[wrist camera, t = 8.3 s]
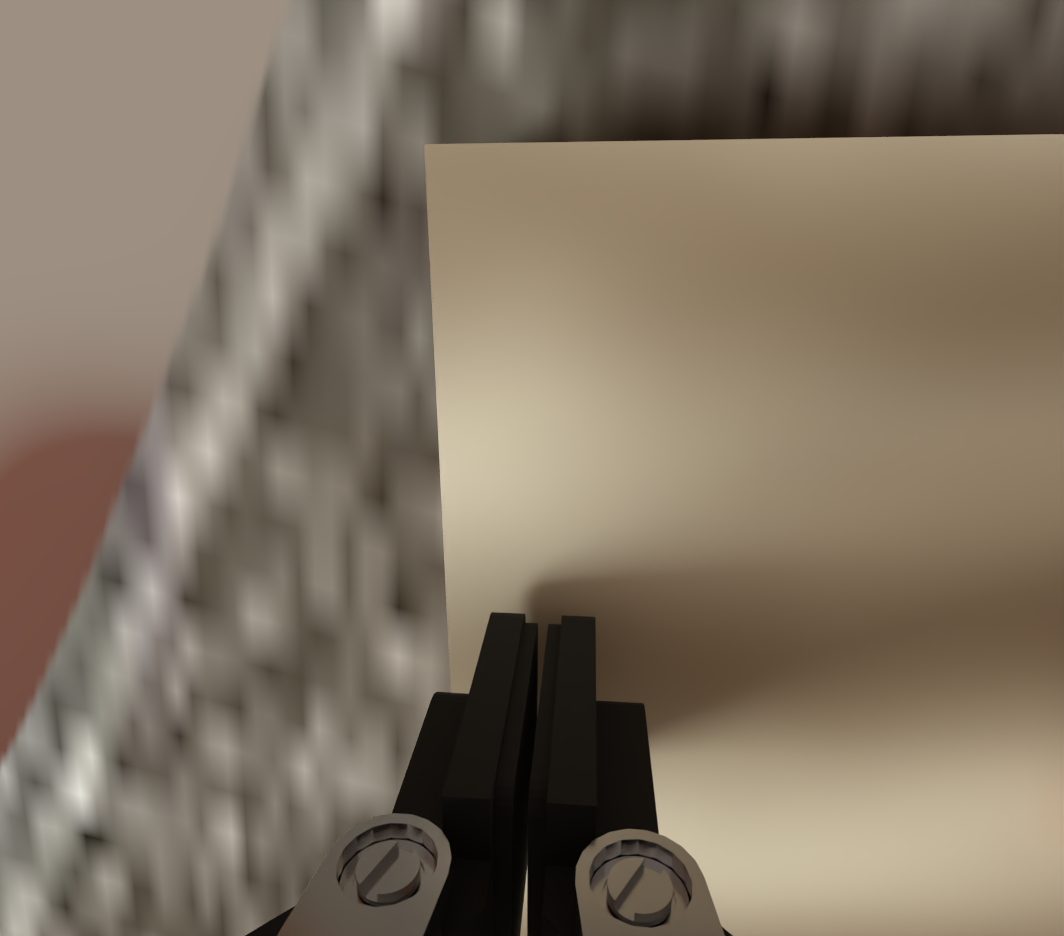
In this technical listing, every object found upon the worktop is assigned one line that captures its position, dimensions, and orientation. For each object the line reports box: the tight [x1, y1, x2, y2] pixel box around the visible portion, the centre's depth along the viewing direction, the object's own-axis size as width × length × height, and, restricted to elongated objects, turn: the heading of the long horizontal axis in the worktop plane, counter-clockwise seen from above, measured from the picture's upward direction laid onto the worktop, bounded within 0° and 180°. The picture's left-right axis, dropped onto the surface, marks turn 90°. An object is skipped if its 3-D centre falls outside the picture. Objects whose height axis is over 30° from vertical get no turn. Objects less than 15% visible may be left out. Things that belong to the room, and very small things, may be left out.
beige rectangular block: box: [424, 134, 1064, 936], centre depth 13 cm, size 16×11×4 cm
